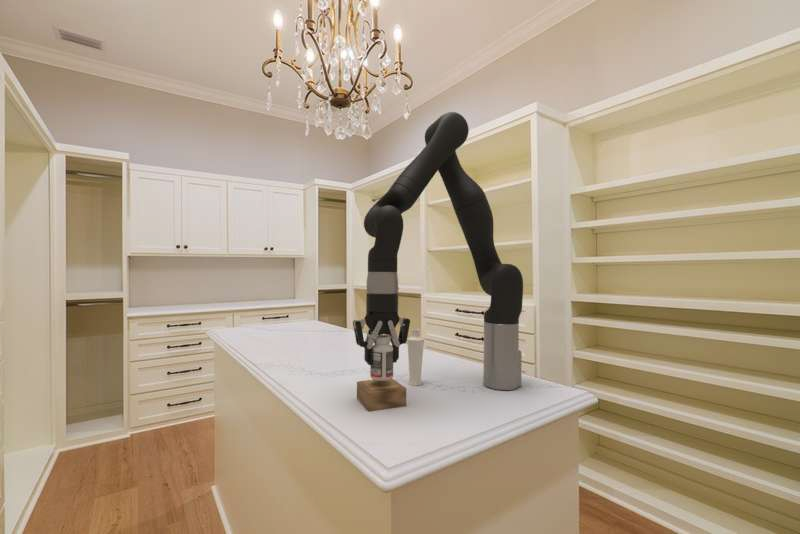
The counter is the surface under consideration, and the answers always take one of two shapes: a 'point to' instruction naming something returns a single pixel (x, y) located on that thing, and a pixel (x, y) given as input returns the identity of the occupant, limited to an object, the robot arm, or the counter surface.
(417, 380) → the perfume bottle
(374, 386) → the base block
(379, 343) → the pill bottle
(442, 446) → the counter surface
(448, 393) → the counter surface
